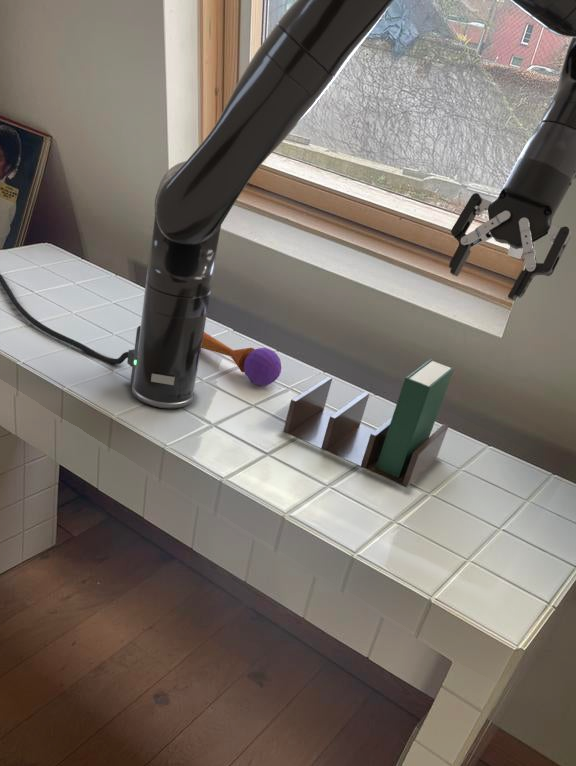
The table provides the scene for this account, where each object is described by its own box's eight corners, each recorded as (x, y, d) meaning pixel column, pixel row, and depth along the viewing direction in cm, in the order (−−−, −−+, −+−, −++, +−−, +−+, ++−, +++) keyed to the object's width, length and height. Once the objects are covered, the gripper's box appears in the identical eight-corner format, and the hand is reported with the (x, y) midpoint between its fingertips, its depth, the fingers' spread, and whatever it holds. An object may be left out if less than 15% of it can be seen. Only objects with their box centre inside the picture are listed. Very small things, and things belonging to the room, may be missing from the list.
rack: (282, 436, 120) (290, 399, 117) (318, 410, 129) (328, 376, 126) (405, 491, 113) (418, 454, 109) (435, 461, 121) (448, 425, 118)
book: (375, 468, 115) (405, 377, 107) (401, 445, 122) (430, 358, 114) (398, 478, 114) (430, 387, 106) (422, 454, 121) (454, 367, 113)
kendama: (205, 317, 143) (292, 354, 131) (197, 351, 145) (282, 390, 134) (181, 316, 139) (269, 354, 127) (173, 351, 141) (259, 391, 130)
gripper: (490, 141, 106) (428, 260, 111) (597, 177, 100) (527, 302, 105) (499, 160, 113) (440, 272, 117) (600, 196, 107) (534, 312, 111)
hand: (481, 286), depth 111 cm, fingers open, 8 cm apart
